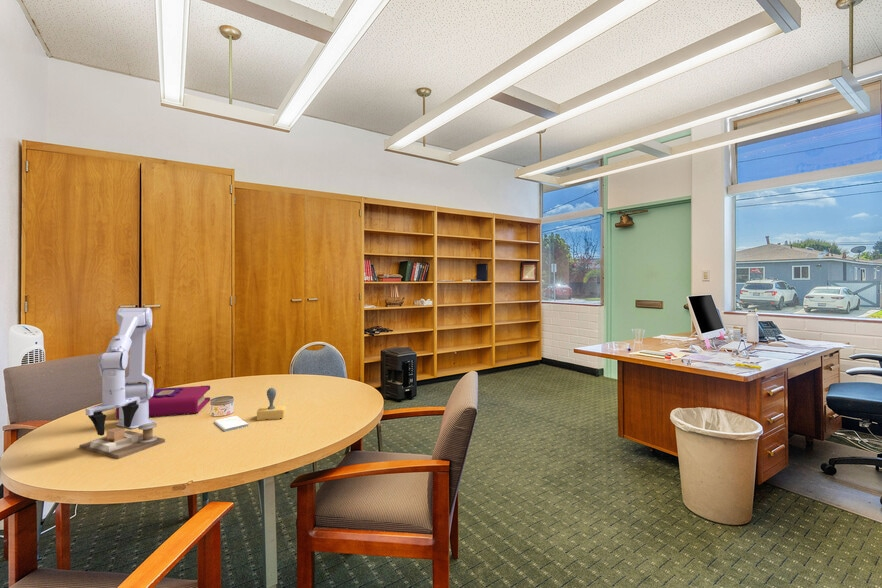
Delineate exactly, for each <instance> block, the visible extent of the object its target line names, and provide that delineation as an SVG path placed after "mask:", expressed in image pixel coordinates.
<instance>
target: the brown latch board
mask: <svg viewBox="0 0 882 588" xmlns="http://www.w3.org/2000/svg"><path fill="white" fill-rule="evenodd" d="M157 426H158V424H157V422H153V423H147V424H143V425H140V426H139V427H137V428H138V430H139V431H142V433H140V432H135V431H132V430H126V429H125V439H121V440H118V441H115V442H108V441H107V435H106V436H105V435H104V436H101V437H100V438H95V439H92V440H90V441H88V442H85V443H81V444H79V446H78V447H79V449H81V450H85V451H89V452H92V453H97V454H100V455H104V456H107V457H111V458H114V459H122V458H125V457H128V456H130V455H133V454H135V453H136V454H137V453H139V452H142V451H144V450H148V449H149V448H152V447H154V446H157V445H160V444H163V443H166V439H165V438H161V437H159V436H155V435H153V434H154V433H153V431H154V430H153V429H154V428H156V427H157Z"/></svg>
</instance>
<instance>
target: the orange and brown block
mask: <svg viewBox="0 0 882 588" xmlns="http://www.w3.org/2000/svg"><path fill="white" fill-rule="evenodd" d="M125 431H126V429H125V428H123V427H122V428H121V427H114V428H111V429H106V436H107V441H108V442H115V441H118V440H121V439H125Z"/></svg>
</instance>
